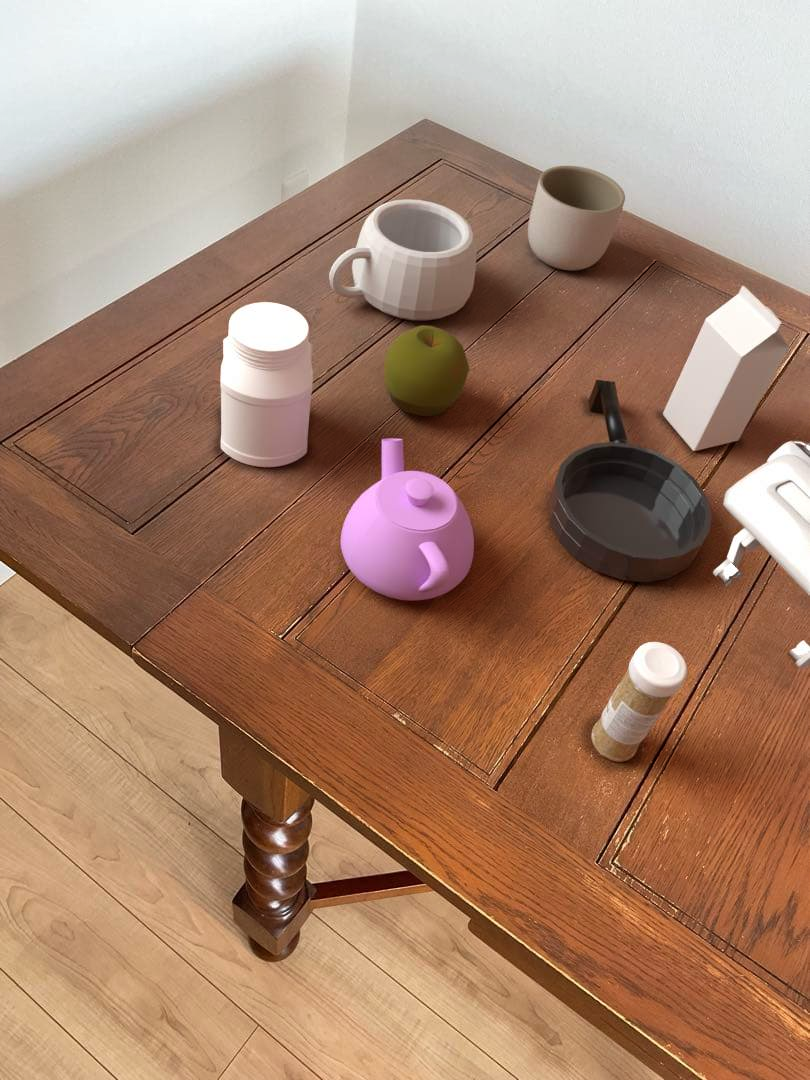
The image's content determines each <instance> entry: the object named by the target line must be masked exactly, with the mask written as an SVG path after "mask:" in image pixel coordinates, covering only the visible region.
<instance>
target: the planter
mask: <svg viewBox="0 0 810 1080" xmlns="http://www.w3.org/2000/svg"><path fill="white" fill-rule="evenodd" d="M625 194H626V193H625V192H624V190H623V188H622V187H621V186H620V185H619V184H618V183H617V182H616V181H615V180H614V179H613V178H611V177H609V176H607V175H605V174H604V173H601V172H599V171H597V170H594V169H591V168H587V167H583V166H578V165H557V166H553V167H550V168H548V169H546V170H544V171H543V172H542V173H541V174H540V176H539V178H538V182H537V185H536V190H535V194H534V198H533V202H532V205H531V210H530V215H529V219H528V223H527V224H528V225H527V239H528V244H529V247H530V248H531V250H532V252H533V254H534V256H535V257H537V258H538V259H539V260H540V261H541V262H542V263H544V264H546V265H547V266H550V267H552V268H555V269H559V270H563V271H581V270H585V269H587V268H590V267H592V266H593V265H595V264H596V263H597V262H598V261H600V259H601V258H602V256H603V255H604V254H605V252H606V251H607V249H608V247H609V245H610V243H611V240H612V238H613V235H614V232H615V230H616V227H617V224H618V221H619V218H620V215H621V213H622V211H623V207H624V204H625V201H626V195H625Z"/></svg>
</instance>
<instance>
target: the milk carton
mask: <svg viewBox="0 0 810 1080" xmlns="http://www.w3.org/2000/svg"><path fill="white" fill-rule="evenodd" d="M782 324H783V323H782V321H781V320H780V318H779V317H778V316H777V315H776V313H775V312H774V311H773V310H772V309H771V308H769V307H768V306H765V305H764V304H763V302H762V301H760V300H759V299H758V298H757V296H756V295H755V294H753V293H752V292H751V291H750V290H749V289H748V288H747V287H746V286H745V285H742V286H741V287H740V289H739V292H738V293H737V294H735V296H733V297H731V298H730V299H729V300H728V301H727V302H726V303H724V304H722V305H721V306H720V307H719V308H718V309H716V310H714V311H713V312H712V313H711V314H710V315H708V316H707V317H706V318H705V320H704V321H703V324H702V326H701V329H700V330H699V333H698V335H697V337H696V339H695V342H694V344H693V345H692V348H691V351H690V353H689V354H688V357H687V360H686V361H685V364H684V366H683V368H682V370H681V372H680V375H679V377H678V379H677V381H676V383H675V385H674V387H673V390H672V392H671V395H670V396H669V399H668V401H667V403H666V405H665V408H664V409H663V412H662V416H663V418H665V420H667V422H668V423H669V424H670V426H672V428H673V429H674V430H675V431H676V433H678V435H679V436H680V437H681V438H682V440H683V441H684V442H685V443H686V444H687V445H688V447H689V448H690V449H691V451H693V452H697V451H701V450H704V449H710V448H714V447H717V446H722V445H725V444H729V443H733V442H738V441H739V440H740V438H741V436H742V434H743V433H744V431H745V429H746V428H747V426H748V424H749V422H750V420H751V418H752V416H753V415H754V413H755V411H756V409H757V408H758V406H759V404H760V403H761V400H762V399H763V396H764V395H765V393H766V391H767V389H768V387H769V385H770V384H771V382H772V380H773V379H774V377H775V374H776V372H777V371H778V369H779V367H780V365H781V363H782V361H783V360H784V358H785V356H786V355H787V353H788V351H789V349H790V346H789V344H788V342H787V341H786V340H785V338H784V337H783V335H782V334H781V333H780V331H779V329H780V327H781V326H782Z"/></svg>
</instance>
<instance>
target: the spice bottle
mask: <svg viewBox="0 0 810 1080" xmlns="http://www.w3.org/2000/svg"><path fill="white" fill-rule="evenodd" d="M687 673H688V667H687V663H686V661H685V659H684V657H683V656H682V655H681V653H680V652H679V651H678V650H677V649H676V648H674V647H673V646H671V645H669V644H667V643H663V642H659V641H650V642H649V641H648V642H646V643H643V644H641V645H640V646H639V647H638V648H637V649H636V650H635V652H634V653H633V655H632V657H631V659H630V661H629V663H628V669H627V671H626V672H625V674H624V676H623V677H622V679H621V681H620V682H619V683H618V684H617V687H616V688H615V689H614V692H613V693H612V695H611V697H610V698H609V700H608V701H607V703H606V705H605V707H604V709H603V711H602V713H601V715H600V717H599V719H598V720H597V721H596V723H594V725H593V726H592V729H591V734H590V735H591V736H590V738H591V742H592V745H593V746H594V748H595V750H596V751H597V752H598V753H599V754H600V755H601V756H602V757H604V758H606V759H608V760H610V761H613V762H618V763H619V762H625V761H629V760H630V759H632V758H633V757H634V756H635V754H636V753H637V751H638V749H639V746H640V745H641V743H642V741H643V740H644V739H645V738H647V735H648V734H649V732H650V731H651V730H652V728H653V727H654V725H655V723H656V722H657V720H658V719H659V717H660V716H661V714H662V713H663V712H664V710H665V709H666V706H667V704H668V702H669V700H670V699H671V698H672V697H673V695H675V694H676V693H677V692H678V691H679V690H680V688H681V686H682V685H683V683H684V682H685V680H686V678H687Z"/></svg>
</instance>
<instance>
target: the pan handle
mask: <svg viewBox="0 0 810 1080" xmlns="http://www.w3.org/2000/svg"><path fill="white" fill-rule="evenodd" d="M617 390H618V389H617V386H616V382H615V381H613V380H612V381H611V380H602V379H596V380H595V382H594V385H593V387H592V390H591V393H590V395H589V398H588V407H589V412H591V413H598V414H599V413H600V414H603V416H604V421H605V426H606V431H607V436H608V442H618V443H627V444H629V442H628V438H627V437H628V436H627V433H626V429H625V424H624V419H623V415H622V411H621V406H620V402H619V401H620V400H619V397H618V391H617Z"/></svg>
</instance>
